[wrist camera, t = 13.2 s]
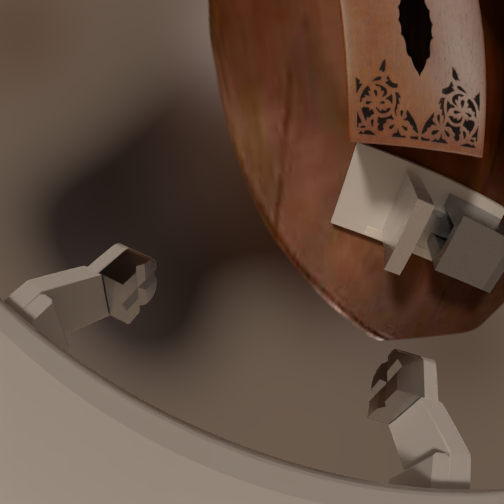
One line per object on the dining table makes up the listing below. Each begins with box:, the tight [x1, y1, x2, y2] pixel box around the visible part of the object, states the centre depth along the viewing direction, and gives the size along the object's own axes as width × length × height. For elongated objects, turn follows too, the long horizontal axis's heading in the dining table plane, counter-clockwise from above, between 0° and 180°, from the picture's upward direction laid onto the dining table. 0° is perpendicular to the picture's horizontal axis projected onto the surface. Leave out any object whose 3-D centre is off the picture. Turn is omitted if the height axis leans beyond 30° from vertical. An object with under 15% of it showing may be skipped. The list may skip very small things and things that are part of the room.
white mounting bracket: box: [382, 171, 454, 275], centre depth 33 cm, size 11×11×10 cm
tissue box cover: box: [339, 0, 486, 158], centre depth 23 cm, size 26×14×10 cm, turn 4°
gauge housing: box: [427, 193, 504, 293], centre depth 33 cm, size 8×10×7 cm
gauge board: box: [331, 143, 504, 261], centre depth 38 cm, size 12×24×1 cm, turn 78°
